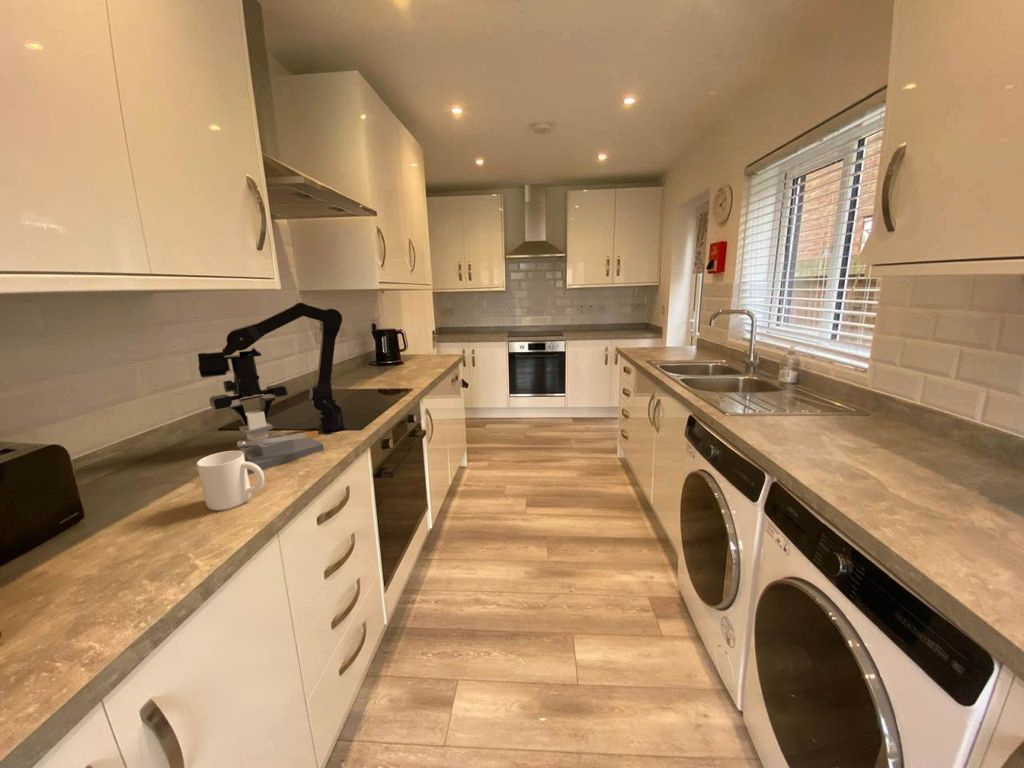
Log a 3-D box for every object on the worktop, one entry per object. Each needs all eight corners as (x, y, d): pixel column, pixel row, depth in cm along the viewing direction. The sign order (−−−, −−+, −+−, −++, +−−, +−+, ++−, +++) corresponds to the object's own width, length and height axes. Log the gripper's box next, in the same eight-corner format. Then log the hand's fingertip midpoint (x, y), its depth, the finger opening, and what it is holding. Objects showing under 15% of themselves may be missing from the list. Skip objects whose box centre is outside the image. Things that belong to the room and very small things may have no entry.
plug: (266, 432, 127) (261, 407, 125) (274, 436, 123) (269, 411, 121) (241, 438, 122) (236, 413, 120) (249, 443, 118) (243, 417, 116)
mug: (276, 489, 94) (268, 448, 92) (258, 508, 86) (249, 463, 84) (220, 494, 93) (211, 452, 91) (197, 513, 85) (187, 467, 83)
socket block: (302, 439, 126) (299, 421, 125) (323, 450, 116) (321, 431, 115) (226, 460, 112) (222, 440, 110) (244, 475, 102) (240, 454, 101)
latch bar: (318, 434, 112) (317, 430, 112) (317, 436, 110) (317, 432, 110) (238, 445, 106) (238, 440, 106) (236, 448, 104) (235, 443, 104)
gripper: (270, 364, 130) (278, 411, 134) (199, 375, 116) (210, 427, 120) (283, 368, 123) (292, 417, 126) (209, 380, 109) (221, 434, 113)
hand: (255, 423), depth 122 cm, fingers closed on plug, 4 cm apart
